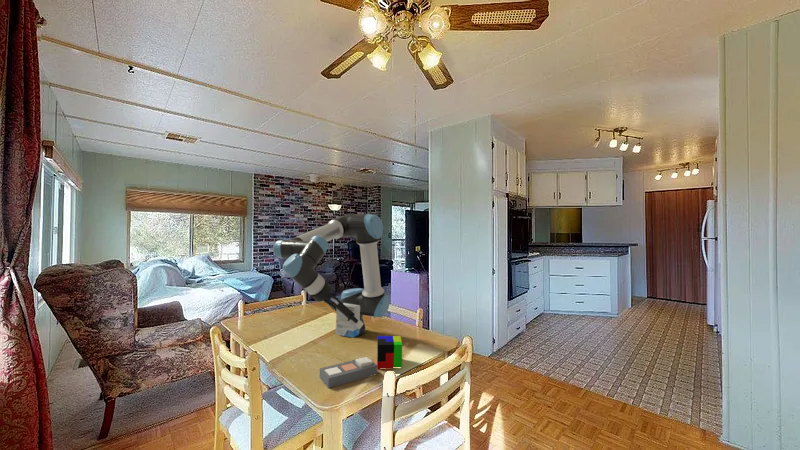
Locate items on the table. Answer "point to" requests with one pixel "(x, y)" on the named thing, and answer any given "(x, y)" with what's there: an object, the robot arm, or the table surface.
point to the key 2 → (363, 362)
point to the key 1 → (333, 371)
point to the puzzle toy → (389, 352)
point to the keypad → (346, 374)
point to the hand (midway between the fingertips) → (355, 322)
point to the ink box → (347, 322)
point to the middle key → (348, 367)
